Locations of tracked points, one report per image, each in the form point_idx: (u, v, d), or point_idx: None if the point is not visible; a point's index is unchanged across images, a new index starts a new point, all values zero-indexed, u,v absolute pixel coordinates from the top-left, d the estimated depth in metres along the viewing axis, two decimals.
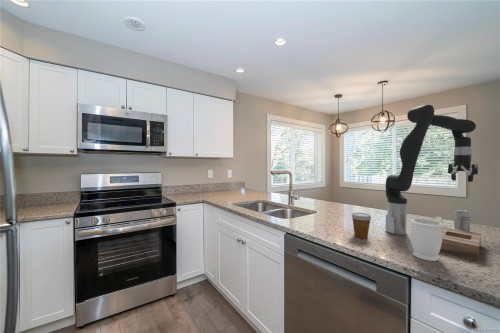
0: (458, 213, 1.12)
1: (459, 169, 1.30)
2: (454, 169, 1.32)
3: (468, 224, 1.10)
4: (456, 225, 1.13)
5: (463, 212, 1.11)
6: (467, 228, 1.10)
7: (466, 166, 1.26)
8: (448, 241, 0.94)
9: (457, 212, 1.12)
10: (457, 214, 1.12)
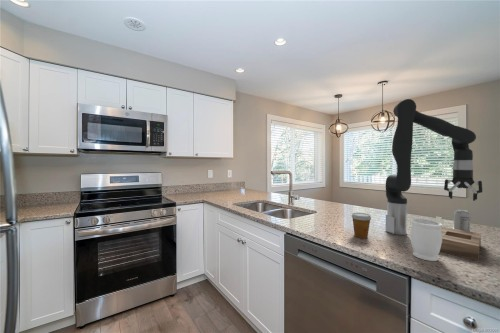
0: (458, 213, 1.12)
1: None
2: None
3: (468, 224, 1.10)
4: (456, 225, 1.13)
5: (463, 212, 1.11)
6: (467, 228, 1.10)
7: None
8: (448, 241, 0.94)
9: (457, 212, 1.12)
10: (457, 214, 1.12)
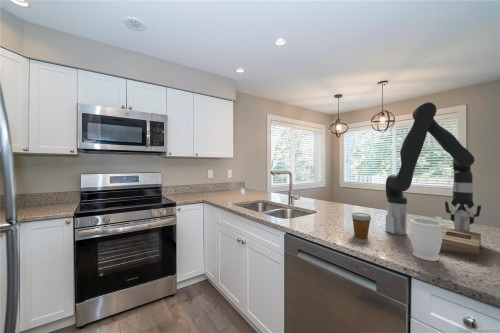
0: (458, 213, 1.12)
1: None
2: None
3: (468, 224, 1.10)
4: (456, 225, 1.13)
5: (463, 212, 1.11)
6: (467, 228, 1.10)
7: None
8: (448, 241, 0.94)
9: (457, 212, 1.12)
10: (457, 214, 1.12)
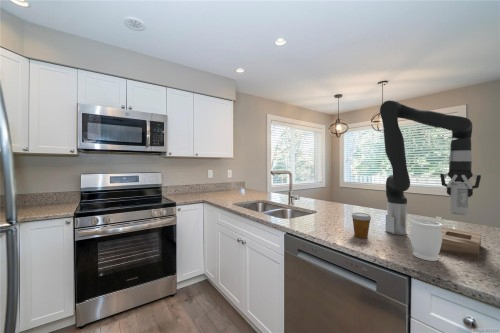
0: (455, 185, 1.00)
1: None
2: None
3: (466, 197, 0.98)
4: (453, 199, 1.01)
5: (461, 184, 0.98)
6: (465, 201, 0.98)
7: None
8: (448, 241, 0.94)
9: (454, 184, 1.00)
10: (454, 186, 1.00)
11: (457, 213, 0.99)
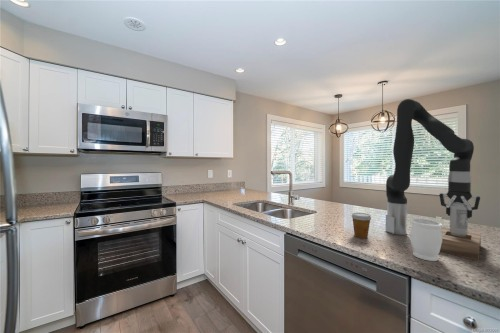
0: (454, 206, 0.99)
1: None
2: None
3: (465, 218, 0.97)
4: (452, 219, 1.00)
5: (460, 205, 0.98)
6: (464, 223, 0.97)
7: None
8: (448, 241, 0.94)
9: (453, 205, 1.00)
10: (453, 207, 1.00)
11: (456, 234, 0.99)
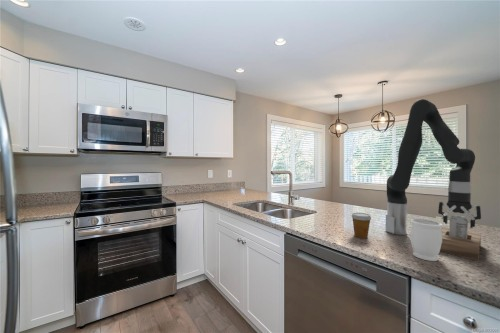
0: (454, 219, 0.99)
1: None
2: None
3: (465, 232, 0.97)
4: (452, 233, 1.00)
5: (459, 218, 0.98)
6: (464, 236, 0.97)
7: None
8: (448, 241, 0.94)
9: (453, 218, 1.00)
10: (453, 220, 1.00)
11: None
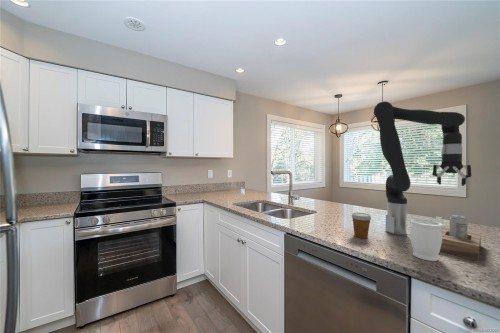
0: (454, 219, 0.99)
1: None
2: None
3: (465, 232, 0.97)
4: (452, 233, 1.00)
5: (459, 218, 0.98)
6: (464, 236, 0.97)
7: None
8: (448, 241, 0.94)
9: (453, 218, 1.00)
10: (453, 220, 1.00)
11: None
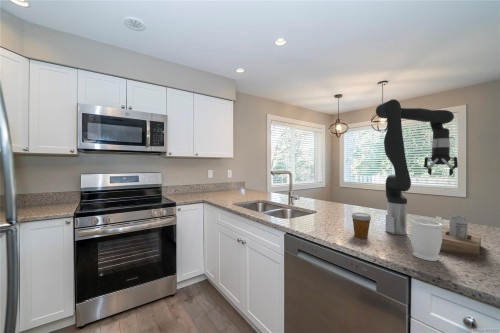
0: (454, 219, 0.99)
1: None
2: None
3: (465, 232, 0.97)
4: (452, 233, 1.00)
5: (459, 218, 0.98)
6: (464, 236, 0.97)
7: None
8: (448, 241, 0.94)
9: (453, 218, 1.00)
10: (453, 220, 1.00)
11: None
